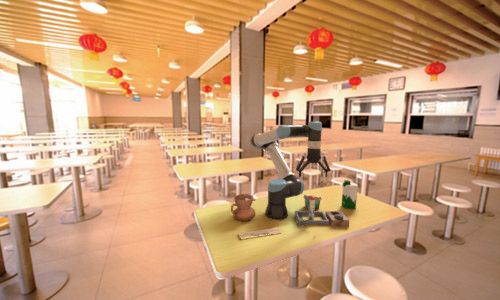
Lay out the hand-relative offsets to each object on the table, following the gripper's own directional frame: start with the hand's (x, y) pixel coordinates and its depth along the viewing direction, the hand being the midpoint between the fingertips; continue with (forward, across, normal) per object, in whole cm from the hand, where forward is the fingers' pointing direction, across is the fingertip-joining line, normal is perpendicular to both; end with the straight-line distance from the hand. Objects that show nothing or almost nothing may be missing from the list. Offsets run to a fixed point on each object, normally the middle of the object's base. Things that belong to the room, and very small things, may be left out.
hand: (312, 182), depth 128 cm
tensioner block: (+25, +15, -2) cm, 30 cm away
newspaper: (+26, -32, -17) cm, 45 cm away
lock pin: (+25, 0, 0) cm, 25 cm away
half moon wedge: (+26, +4, +16) cm, 30 cm away
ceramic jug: (+26, -43, +3) cm, 50 cm away
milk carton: (+25, +32, +21) cm, 46 cm away
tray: (+25, 0, 0) cm, 25 cm away
